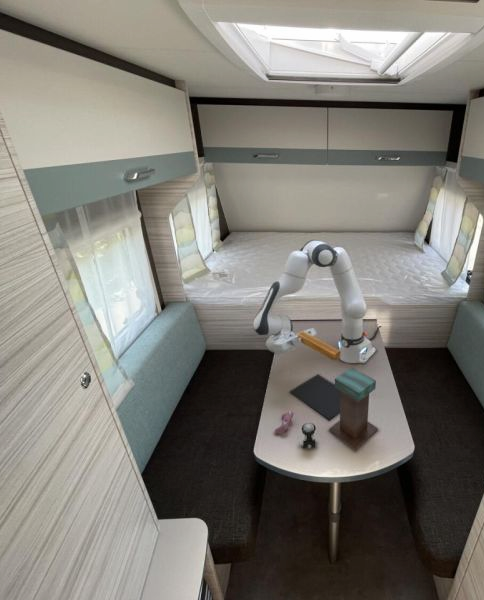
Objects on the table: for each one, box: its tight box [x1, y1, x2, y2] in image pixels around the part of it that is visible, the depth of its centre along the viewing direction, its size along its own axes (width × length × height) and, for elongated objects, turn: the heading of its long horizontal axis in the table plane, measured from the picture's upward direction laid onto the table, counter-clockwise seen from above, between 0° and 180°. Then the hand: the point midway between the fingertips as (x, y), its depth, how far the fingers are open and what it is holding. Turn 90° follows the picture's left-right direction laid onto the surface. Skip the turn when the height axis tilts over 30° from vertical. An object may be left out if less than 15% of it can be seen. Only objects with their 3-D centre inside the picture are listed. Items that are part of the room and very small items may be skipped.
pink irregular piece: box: [274, 410, 295, 435], centre depth 134 cm, size 10×5×7 cm, turn 168°
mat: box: [290, 374, 340, 421], centre depth 153 cm, size 18×26×1 cm
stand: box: [329, 366, 378, 452], centre depth 128 cm, size 14×14×26 cm
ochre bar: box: [297, 331, 341, 362], centre depth 135 cm, size 4×22×3 cm, turn 46°
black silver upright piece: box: [298, 422, 317, 449], centre depth 125 cm, size 7×5×10 cm
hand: (305, 337), depth 139 cm, fingers closed on ochre bar, 3 cm apart
